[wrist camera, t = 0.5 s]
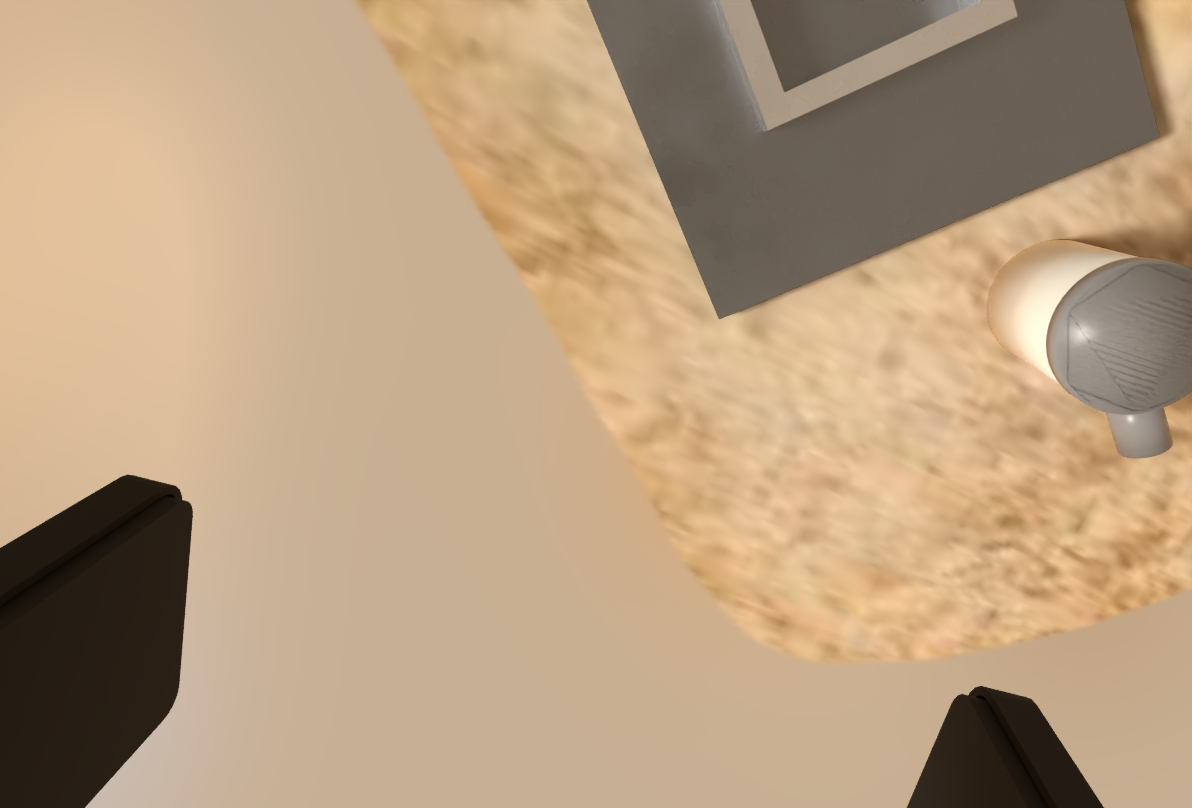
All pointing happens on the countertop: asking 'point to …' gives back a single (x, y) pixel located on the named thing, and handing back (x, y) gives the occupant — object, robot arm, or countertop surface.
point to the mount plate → (863, 119)
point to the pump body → (1101, 332)
